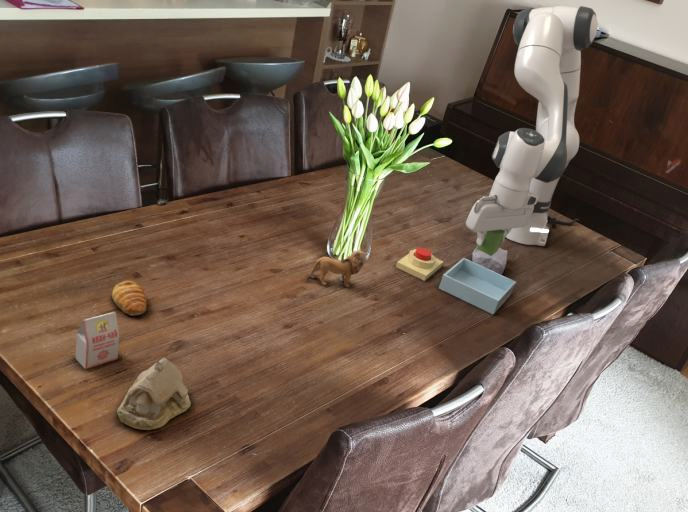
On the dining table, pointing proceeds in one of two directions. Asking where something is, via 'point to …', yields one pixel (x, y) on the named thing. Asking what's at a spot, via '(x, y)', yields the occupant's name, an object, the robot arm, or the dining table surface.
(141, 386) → the ceramic model
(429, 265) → the button housing
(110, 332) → the tea bag
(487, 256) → the stone block
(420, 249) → the button
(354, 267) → the lion figurine
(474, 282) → the basin
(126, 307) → the pastry
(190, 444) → the dining table surface
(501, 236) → the green block
